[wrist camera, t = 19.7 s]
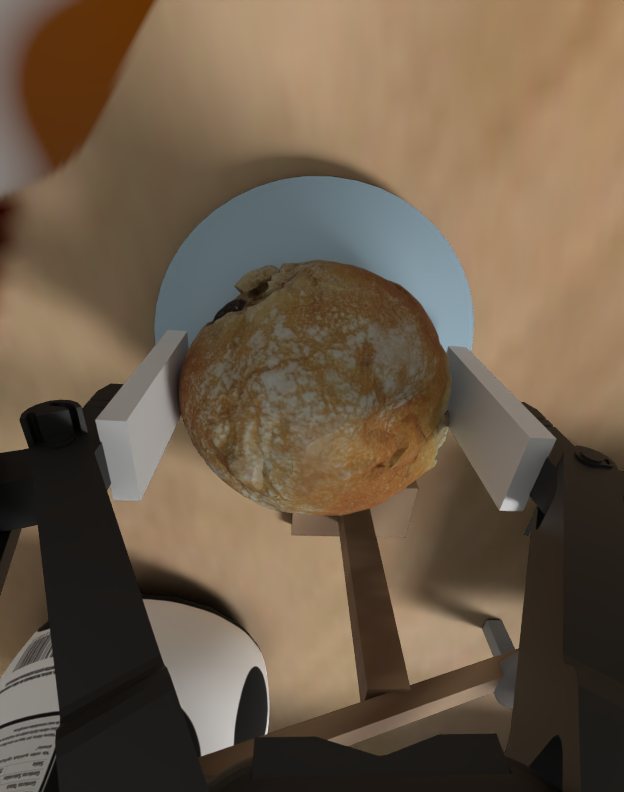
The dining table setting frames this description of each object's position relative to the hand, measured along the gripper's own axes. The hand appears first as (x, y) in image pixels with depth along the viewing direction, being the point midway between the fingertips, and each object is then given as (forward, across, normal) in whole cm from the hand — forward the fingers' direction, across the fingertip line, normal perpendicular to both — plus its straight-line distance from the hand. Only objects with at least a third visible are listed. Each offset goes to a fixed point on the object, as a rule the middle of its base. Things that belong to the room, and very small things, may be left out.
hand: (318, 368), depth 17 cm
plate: (+2, 0, 0) cm, 2 cm away
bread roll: (0, 0, 0) cm, 1 cm away
